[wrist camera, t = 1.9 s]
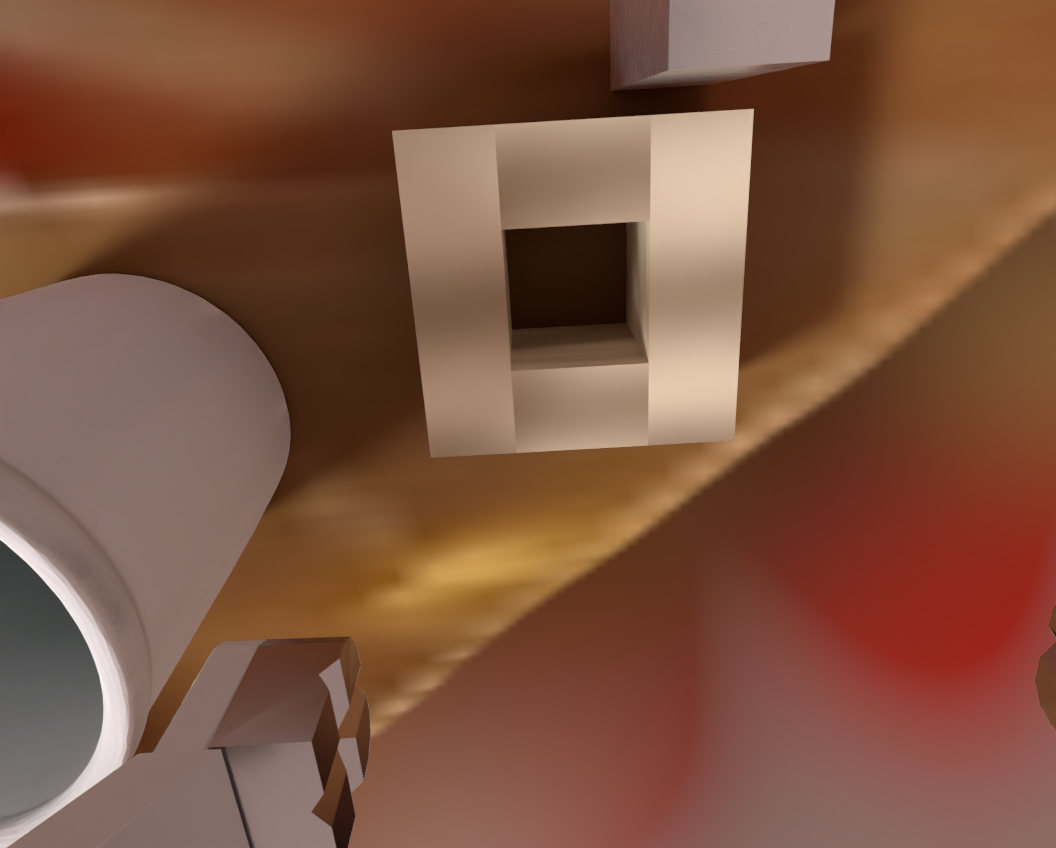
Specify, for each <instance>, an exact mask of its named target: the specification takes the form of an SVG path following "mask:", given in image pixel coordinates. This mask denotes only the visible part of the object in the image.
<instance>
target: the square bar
mask: <svg viewBox="0 0 1056 848" xmlns="http://www.w3.org/2000/svg"><path fill="white" fill-rule="evenodd" d="M834 6H835V0H610V82H611V91H618V90H634V89H651V88H667V87H683V86H700V85H712V84H717V83H722V82H726V81H731V80H736V79H741V78H746V77H751V76H756V75H760V74H765V73H770V72H775V71H780V70H785V69H790V68H794V67H799V66H804V65H809V64H814V63H819V62H824V61H829V59H830V49H831V38H832V27H833V17H834Z"/></svg>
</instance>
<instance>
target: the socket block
mask: <svg viewBox="0 0 1056 848" xmlns="http://www.w3.org/2000/svg"><path fill="white" fill-rule="evenodd" d="M753 116H754V109H743V110H727V111H710V112H694V113H677V114H661V115H644V116H628V117H611V118H595V119H578V120H562V121H545V122H529V123H512V124H496V125H479V126H463V127H446V128H430V129H413V130H397V131H392V136H393V144H394V153H395V161H396V170H397V178H398V186H399V195H400V203H401V211H402V220H403V228H404V237H405V245H406V253H407V262H408V270H409V279H410V287H411V295H412V304H413V312H414V320H415V329H416V337H417V346H418V354H419V362H420V371H421V379H422V388H423V396H424V404H425V413H426V421H427V429H428V438H429V446H430V455H431V458H434V457H452V456H469V455H487V454H504V453H522V452H540V451H557V450H575V449H592V448H610V447H627V446H645V445H663V444H680V443H698V442H715V441H733V440H734V436H735V419H736V402H737V385H738V369H739V352H740V335H741V318H742V301H743V284H744V268H745V251H746V234H747V217H748V200H749V183H750V167H751V150H752V133H753ZM624 222H626V323H613V324H596V325H579V326H562V327H545V328H528V329H512V322H511V307H510V292H509V277H508V262H507V247H506V231H505V230H507V229H523V228H540V227H557V226H574V225H591V224H607V223H624Z"/></svg>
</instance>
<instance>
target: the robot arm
mask: <svg viewBox="0 0 1056 848" xmlns="http://www.w3.org/2000/svg"><path fill="white" fill-rule="evenodd" d="M1049 627H1050V629H1051V631H1052V632H1053V633H1054V635H1055V637H1056V606H1055V607H1054V609H1053V613H1052V616H1051V620H1050V623H1049ZM360 666H361V663H360V658H359V654H358V649H357V645H356V642H355V641H354V640H353V639H352V638H351V637H324V638H295V639H267V640H266V641H263V640H252V641H230V642H223V643H221V644H220V645H218V646H216V647H215V648H214V649H213V650H212V652H211V654H210V655H209V657H208V659H207V660H206V662H205V664H204V666H203V667H202V669H201V671H200V672H199V674H198V676H197V678H196V679H195V681H194V683H193V684H192V686H191V688H190V690H189V691H188V693H187V695H186V696H185V698H184V700H183V702H182V703H181V705H180V707H179V708H178V710H177V712H176V714H175V715H174V717H173V719H172V720H171V722H170V724H169V726H168V727H167V729H166V731H165V732H164V734H163V736H162V738H161V739H160V741H159V743H158V744H157V746H156V748H155V750H154V751H153V753H139V754H137V755H136V756H134V757H133V758H132V759H130V760H129V761H127V762H126V763H125V764H123V765H122V766H120V767H119V768H118V769H116V770H115V771H113V772H112V773H111V774H109V775H108V776H106V777H105V778H104V779H102V780H101V781H99V782H98V783H97V784H95V785H94V786H92V787H91V788H90V789H88V790H87V791H85V792H84V793H83V794H81V795H80V796H78V797H77V798H76V799H74V800H73V801H71V802H70V803H69V804H67V805H66V806H64V807H63V808H62V809H60V810H59V811H57V812H56V813H55V814H53V815H52V816H50V817H49V818H48V819H46V820H45V821H43V822H42V823H41V824H39V825H38V826H36V827H35V828H34V829H32V830H31V831H29V832H28V833H27V834H25V835H24V836H22V837H21V838H20V839H18V840H17V841H15V842H14V843H13V844H11V845H10V846H8V847H7V848H348V845H349V841H350V837H351V832H352V829H353V824H354V820H355V810H354V805H353V800H352V795H351V793H352V792H353V791H354V790H355V789H356V788H357V787H358V786H359V785H360V784H361V783H362V782H363V781H364V777H365V772H366V768H367V763H368V758H369V746H370V733H371V731H370V713H369V706H368V701H367V695H366V694H365V693H364V692H363V691H362V690H361V689H359V688H358V687H357V686H356V685H355V684H356V681H357V677H358V674H359V670H360ZM1035 682H1036V687H1037V691H1038V696H1039V701H1040V705H1041V707H1042V709H1043V710H1044V713H1045V714H1046V716H1047V718H1048V720H1049V721H1050V723H1051V725H1052V726H1053V727H1054V728H1055V729H1056V643H1055V644H1053V645H1052V646H1051V647H1050V648H1049V649H1048V650H1047V651H1046V652H1045V653H1044V654H1043V655H1042V656H1041V657H1040V660H1039V665H1038V670H1037V674H1036V679H1035Z"/></svg>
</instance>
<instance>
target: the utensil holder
mask: <svg viewBox="0 0 1056 848" xmlns="http://www.w3.org/2000/svg"><path fill="white" fill-rule="evenodd" d="M290 438H291V429H290V419H289V413H288V409H287V405H286V400H285V396H284V393H283V390H282V388H281V385H280V383H279V380H278V378H277V376H276V374H275V372H274V370H273V368H272V366H271V365H270V363H269V362H268V360H267V358H266V357H265V355H264V354H263V352H262V351H261V350H260V348H259V347H258V346H257V344H256V343H255V342H254V341H253V340H252V339H251V337H250V336H249V335H248V334H247V333H246V332H245V331H244V330H243V329H242V328H241V327H240V326H239V325H238V324H237V323H236V322H235V321H234V320H233V319H231V318H230V317H229V316H228V315H227V314H225V313H224V312H223V311H221V310H220V309H218V308H217V307H215V306H214V305H212V304H211V303H209V302H208V301H206V300H204V299H203V298H201V297H199V296H197V295H195V294H193V293H191V292H189V291H187V290H184V289H182V288H180V287H178V286H175V285H172V284H169V283H167V282H163V281H159V280H155V279H151V278H147V277H143V276H135V275H125V274H97V275H90V276H84V277H78V278H74V279H70V280H65V281H61V282H58V283H55V284H51V285H48V286H44V287H41V288H38V289H34V290H31V291H27V292H24V293H21V294H17V295H14V296H10V297H7V298H4V299H0V848H7V847H8V846H10V845H11V844H13V843H14V842H15V841H17V840H18V839H20V838H21V837H22V836H24V835H25V834H27V833H28V832H29V831H31V830H32V829H34V828H35V827H36V826H38V825H39V824H41V823H42V822H43V821H45V820H46V819H48V818H49V817H50V816H52V815H53V814H55V813H56V812H57V811H59V810H60V809H62V808H63V807H64V806H66V805H67V804H69V803H70V802H71V801H73V800H74V799H76V798H77V797H78V796H80V795H81V794H83V793H84V792H85V791H87V790H88V789H90V788H91V787H92V786H94V785H95V784H97V783H98V782H99V781H101V780H102V779H104V778H105V777H106V776H108V775H109V774H111V773H112V772H113V771H115V770H116V769H118V768H119V767H120V766H122V765H123V764H125V763H126V762H127V761H129V760H130V759H132V757H133V756H134V754H135V752H136V750H137V748H138V745H139V743H140V740H141V737H142V735H143V732H144V729H145V725H146V721H147V717H148V713H149V710H150V709H151V707H152V705H153V704H154V702H155V700H156V699H157V697H158V695H159V694H160V692H161V690H162V689H163V687H164V685H165V684H166V682H167V680H168V679H169V677H170V675H171V674H172V672H173V670H174V669H175V667H176V665H177V664H178V662H179V660H180V658H181V657H182V655H183V653H184V651H185V650H186V648H187V646H188V645H189V643H190V641H191V639H192V638H193V636H194V634H195V632H196V631H197V629H198V627H199V626H200V624H201V622H202V620H203V619H204V617H205V615H206V614H207V612H208V610H209V609H210V607H211V605H212V604H213V602H214V600H215V598H216V597H217V595H218V593H219V592H220V590H221V588H222V587H223V585H224V583H225V582H226V580H227V578H228V577H229V575H230V573H231V571H232V570H233V568H234V566H235V564H236V562H237V561H238V559H239V557H240V555H241V553H242V551H243V550H244V548H245V546H246V545H247V543H248V541H249V539H250V538H251V536H252V534H253V532H254V531H255V529H256V527H257V525H258V523H259V521H260V519H261V517H262V515H263V513H264V511H265V509H266V507H267V506H268V504H269V502H270V500H271V498H272V496H273V494H274V492H275V490H276V488H277V486H278V484H279V481H280V479H281V477H282V475H283V472H284V470H285V467H286V463H287V459H288V455H289V449H290Z"/></svg>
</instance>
